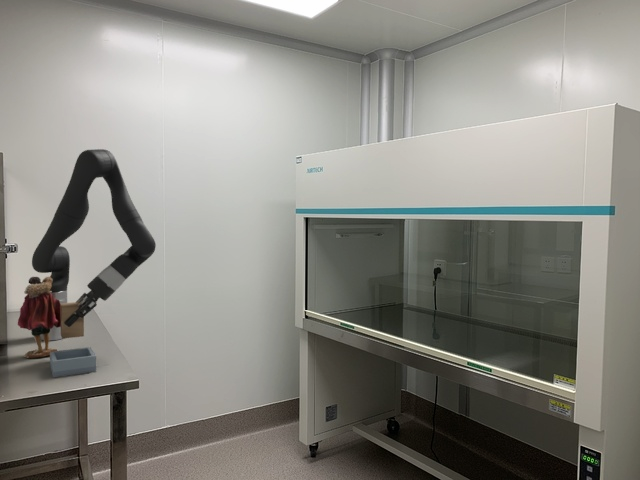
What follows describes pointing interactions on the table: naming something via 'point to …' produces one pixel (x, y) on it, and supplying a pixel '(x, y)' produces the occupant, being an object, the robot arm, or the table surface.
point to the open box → (72, 361)
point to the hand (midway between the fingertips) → (65, 322)
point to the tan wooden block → (76, 327)
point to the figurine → (40, 314)
